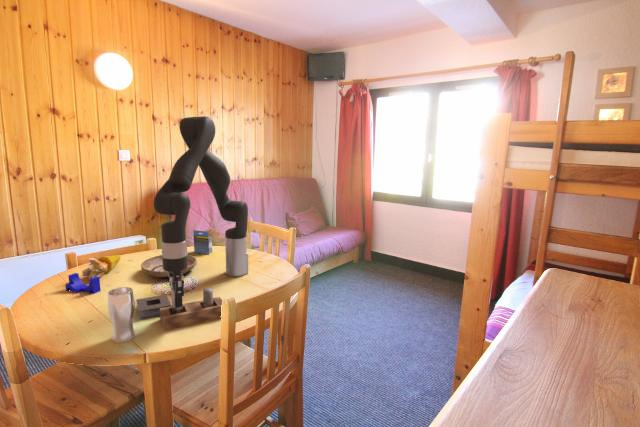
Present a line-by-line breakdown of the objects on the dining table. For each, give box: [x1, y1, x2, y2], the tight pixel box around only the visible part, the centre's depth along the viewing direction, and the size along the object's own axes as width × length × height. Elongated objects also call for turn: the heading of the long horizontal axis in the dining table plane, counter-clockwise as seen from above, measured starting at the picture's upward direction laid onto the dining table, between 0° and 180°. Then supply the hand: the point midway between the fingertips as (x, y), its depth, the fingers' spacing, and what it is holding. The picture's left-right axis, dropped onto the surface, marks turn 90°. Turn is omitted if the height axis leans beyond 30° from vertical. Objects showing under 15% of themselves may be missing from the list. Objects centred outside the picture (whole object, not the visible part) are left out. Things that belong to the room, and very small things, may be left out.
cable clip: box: [65, 272, 102, 295], centre depth 140 cm, size 12×4×6 cm, turn 74°
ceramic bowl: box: [140, 254, 198, 278], centre depth 163 cm, size 23×24×5 cm
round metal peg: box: [170, 289, 183, 314], centre depth 119 cm, size 3×3×11 cm
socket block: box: [135, 294, 172, 320], centre depth 127 cm, size 10×10×3 cm
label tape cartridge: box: [192, 230, 213, 255], centre depth 191 cm, size 9×4×12 cm, turn 77°
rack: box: [159, 287, 223, 331], centre depth 122 cm, size 20×8×9 cm, turn 121°
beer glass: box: [107, 286, 136, 344], centre depth 108 cm, size 7×7×15 cm
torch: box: [81, 254, 122, 281], centre depth 159 cm, size 8×8×25 cm
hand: (177, 303), depth 119 cm, fingers open, 4 cm apart
